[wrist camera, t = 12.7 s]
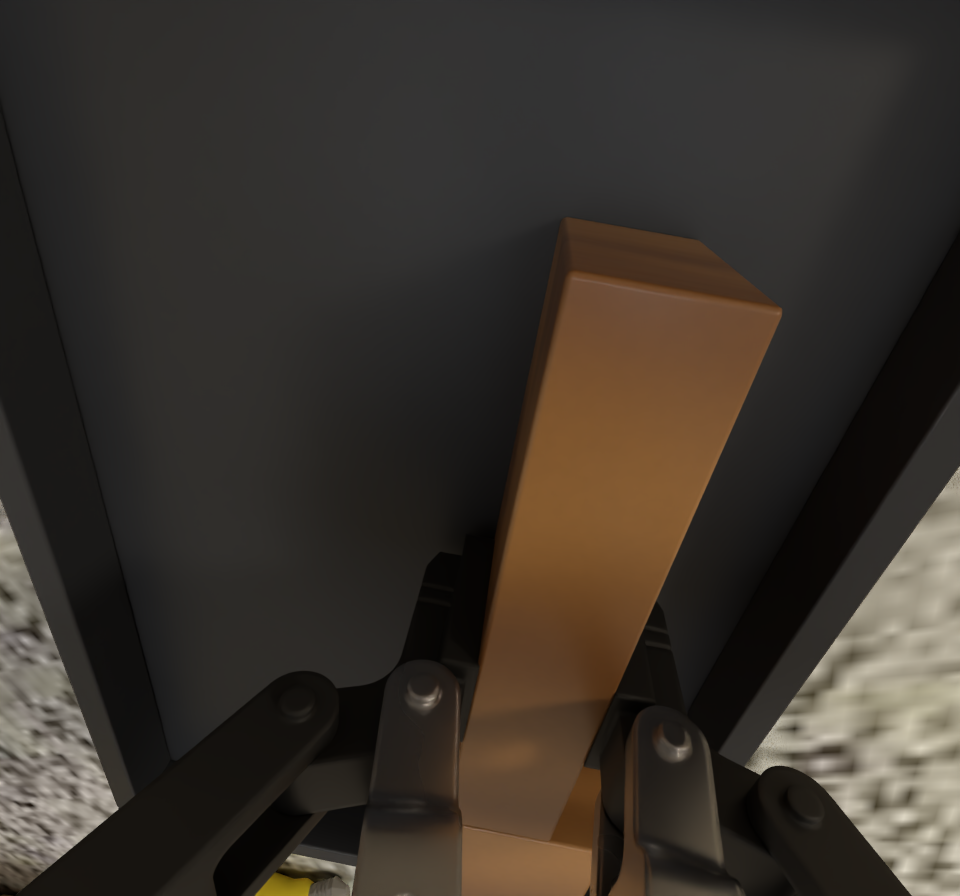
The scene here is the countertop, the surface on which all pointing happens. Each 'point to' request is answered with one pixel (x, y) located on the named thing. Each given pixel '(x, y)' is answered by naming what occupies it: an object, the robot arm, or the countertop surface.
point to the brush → (593, 529)
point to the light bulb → (303, 887)
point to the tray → (445, 322)
